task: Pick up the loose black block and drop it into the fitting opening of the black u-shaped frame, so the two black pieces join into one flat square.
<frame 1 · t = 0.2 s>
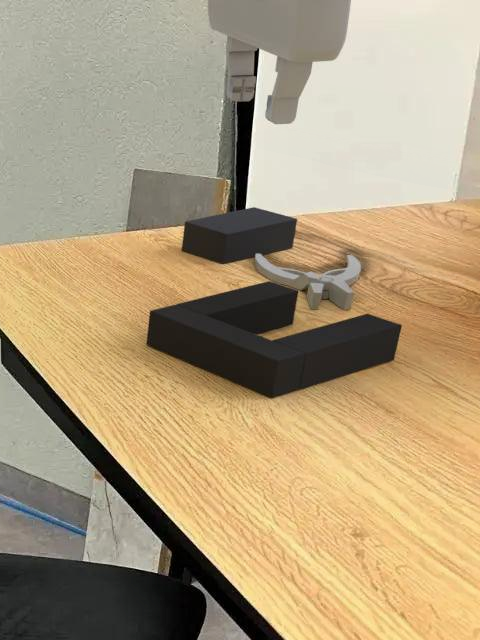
hand: (258, 110, 87), 18 cm above the table, tool pointing down, fingers open, 8 cm apart
black u-shaped frame: (267, 352, 95), on the table
black block: (236, 249, 120), on the table
pliers: (315, 286, 110), on the table
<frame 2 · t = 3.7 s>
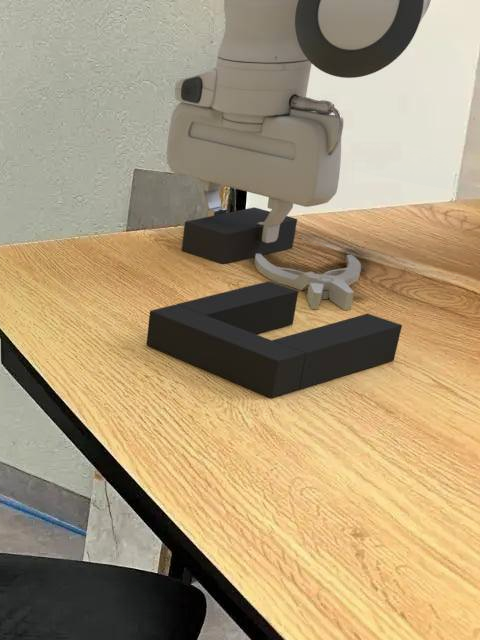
hand: (238, 232, 119), 2 cm above the table, tool pointing down, fingers closed on black block, 6 cm apart
black block: (236, 249, 120), on the table, touching gripper
everything else where it was.
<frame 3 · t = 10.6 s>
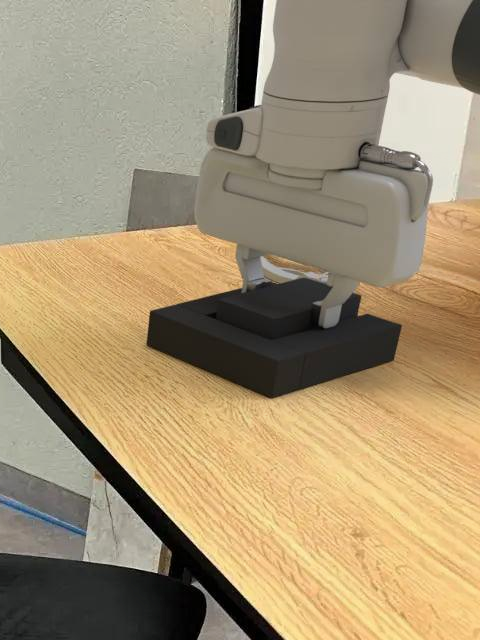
hand: (287, 312, 94), 3 cm above the table, tool pointing down, fingers closed on black block, 6 cm apart
black block: (283, 332, 95), point 1 cm above the table, touching gripper
everything else where it was.
when the fingers open (3 cm above the table, at t = 15.8 s): black block drops 1 cm, resting in black u-shaped frame.
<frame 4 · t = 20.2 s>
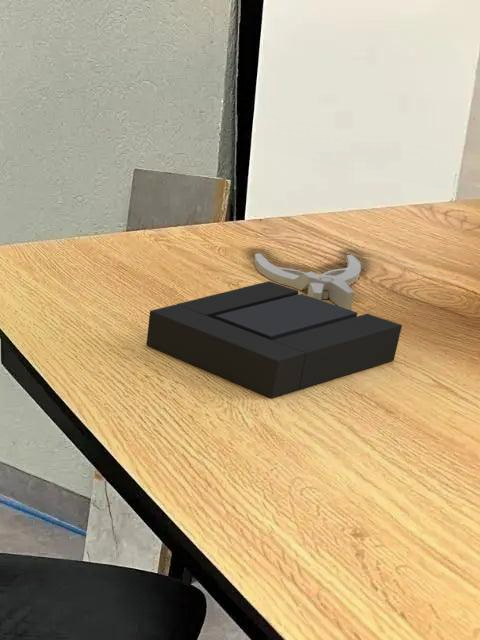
black block: (280, 348, 95), resting in black u-shaped frame
everything else where it was.
at the end: black block 0.0 cm from the target spot on the black u-shaped frame, point 0.0 cm above the black u-shaped frame's base; black block tilted 0°; the gripper is holding nothing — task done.
